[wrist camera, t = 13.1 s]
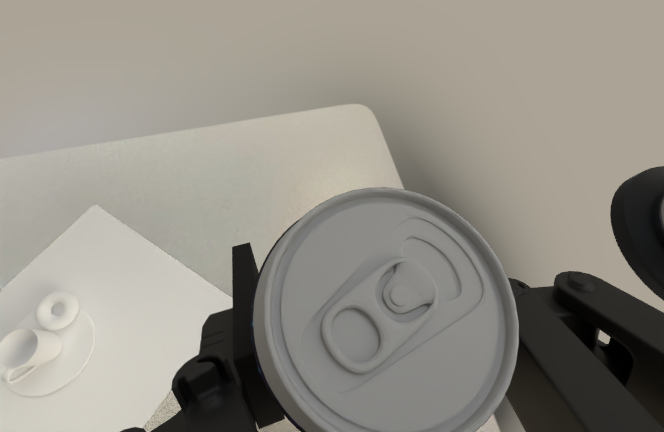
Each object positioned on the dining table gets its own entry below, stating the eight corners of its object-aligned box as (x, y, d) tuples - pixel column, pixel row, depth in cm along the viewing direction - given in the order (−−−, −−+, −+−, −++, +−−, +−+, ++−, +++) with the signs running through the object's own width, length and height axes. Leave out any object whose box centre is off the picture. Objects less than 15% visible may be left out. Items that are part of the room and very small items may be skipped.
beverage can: (405, 342, 17) (597, 328, 6) (323, 420, 15) (385, 599, 4) (340, 261, 18) (400, 130, 8) (257, 323, 17) (179, 272, 6)
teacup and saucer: (63, 281, 32) (33, 273, 28) (123, 326, 31) (99, 322, 27) (-18, 362, 29) (-65, 364, 25) (45, 414, 28) (6, 425, 24)
